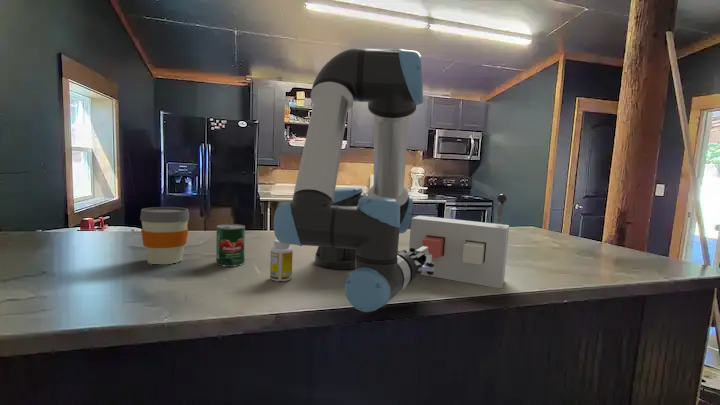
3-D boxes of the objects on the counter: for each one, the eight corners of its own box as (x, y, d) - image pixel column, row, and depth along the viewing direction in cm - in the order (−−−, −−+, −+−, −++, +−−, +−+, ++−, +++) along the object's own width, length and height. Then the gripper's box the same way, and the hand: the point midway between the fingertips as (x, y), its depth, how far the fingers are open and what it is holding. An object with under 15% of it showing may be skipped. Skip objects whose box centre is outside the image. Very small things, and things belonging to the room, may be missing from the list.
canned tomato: (233, 258, 118) (234, 223, 117) (250, 263, 114) (250, 226, 113) (210, 263, 112) (210, 225, 111) (226, 268, 107) (227, 229, 106)
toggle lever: (493, 221, 105) (497, 192, 107) (493, 224, 107) (497, 195, 110) (503, 222, 104) (507, 193, 106) (503, 225, 106) (507, 196, 109)
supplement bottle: (293, 276, 103) (294, 238, 102) (289, 282, 98) (290, 243, 97) (272, 275, 103) (273, 237, 102) (267, 281, 98) (268, 241, 97)
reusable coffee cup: (159, 254, 118) (159, 205, 117) (197, 257, 117) (198, 208, 115) (129, 264, 106) (129, 210, 105) (171, 268, 104) (172, 213, 103)
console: (407, 272, 113) (411, 218, 112) (415, 266, 120) (419, 215, 119) (501, 288, 102) (506, 228, 101) (504, 280, 109) (509, 225, 108)
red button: (421, 255, 106) (422, 239, 105) (427, 251, 111) (428, 236, 111) (438, 258, 104) (439, 241, 103) (443, 254, 109) (444, 238, 109)
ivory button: (462, 261, 101) (463, 244, 101) (466, 257, 107) (467, 241, 106) (480, 264, 99) (482, 247, 99) (483, 259, 105) (485, 243, 104)
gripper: (363, 284, 81) (400, 262, 103) (423, 296, 76) (449, 269, 97) (365, 249, 81) (402, 234, 102) (426, 258, 75) (451, 240, 97)
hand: (425, 251), depth 100 cm, fingers closed
